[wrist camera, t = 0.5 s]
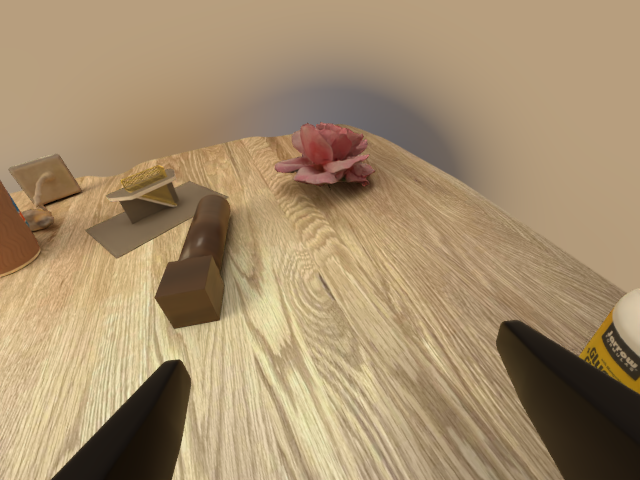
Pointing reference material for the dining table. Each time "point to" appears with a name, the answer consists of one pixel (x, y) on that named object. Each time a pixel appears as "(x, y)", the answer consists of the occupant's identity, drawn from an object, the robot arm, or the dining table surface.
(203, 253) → the walnut leg
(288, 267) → the dining table surface
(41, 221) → the decorative sculpture
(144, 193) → the platform
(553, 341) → the robot arm
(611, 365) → the pill bottle
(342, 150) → the flower
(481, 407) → the dining table surface
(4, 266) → the coffee cup
